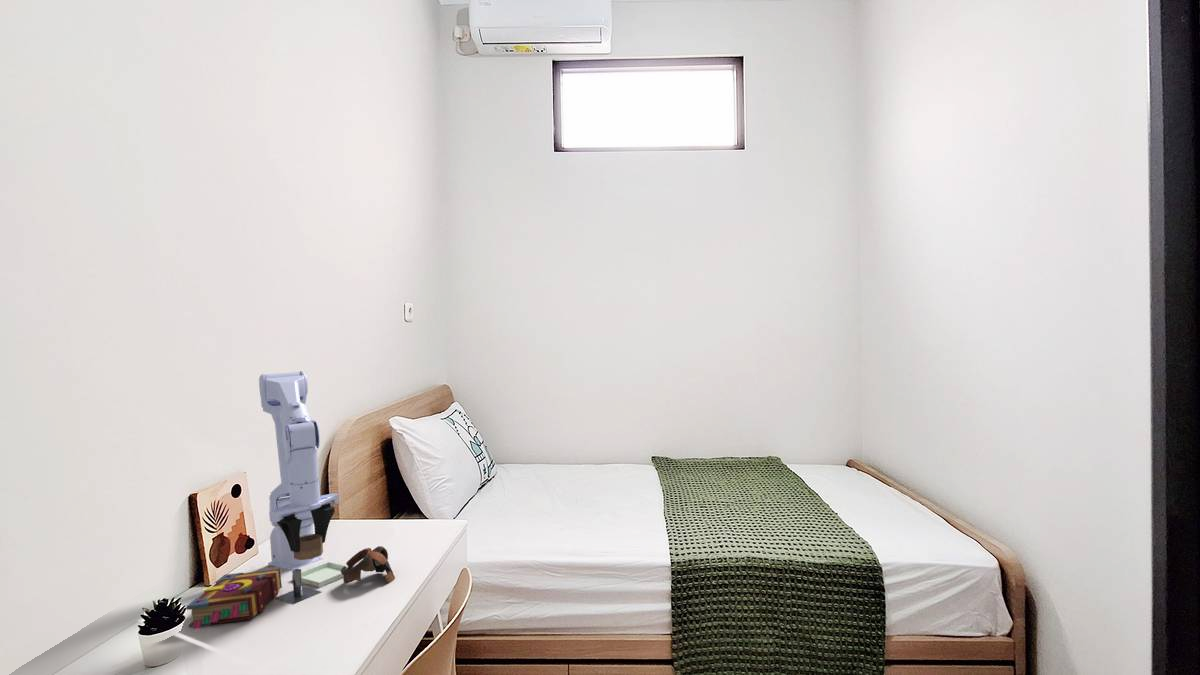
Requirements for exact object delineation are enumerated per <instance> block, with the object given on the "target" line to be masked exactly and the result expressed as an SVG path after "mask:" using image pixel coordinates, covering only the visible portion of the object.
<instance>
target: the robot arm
mask: <svg viewBox="0 0 1200 675" xmlns="http://www.w3.org/2000/svg"><path fill="white" fill-rule="evenodd" d="M258 383H259V384H258V388H259V389H258V390H259V397H260V404H261V408H262V411H263V412H265V413H267V414H270V415H271V417H272V421H273V424H274V428H275V438H276V439H275V440H276V448H277V457H278V465H279V474H280V484H278V485H277V487H275V488H274V489H273V490H272V491H271V492H270V494H269V497H268V498H269V511H268V515H269V521H270V523H271V526H273V528H272V530H271V532H270V536H269V538H270V539H269V541H270V543H269V544H270V554H271V556H270V557H271V561H269V562H267V565H268V566H271V567H278V568H282V569H285V570H290V571H293V570H295V569H301V568H302V567H305V566H308V565H310V564H313V563H315V562H318V561H321V560H323V558H324V557H323V556H318V557H316V558H313V559H306V560H298V559H294V552H299V551H300V536H303V535H309V534H319V535H322V541H323V544H324V543H325V542H326V537H327V532H328V528H329V525H330V522H331V520H332V517H333V516H334V514H335V506H332V505H336V504H339V503H340V498H339V496H340V495H339V493H334V492H332V493H329V494H324V495H321V488H320V476H319V474H320V473H319V459H318V458H319V457H318V449H319V447H320V443H321V438H320V437H321V436H320V435H321V434H320V429H319V425H318V422H317V420H314V419H312V417H311V414H310V411H309V408H308V406H307V405H306V403H307V395H308V392H309V391H308V390H309V389H308V387H309V386H308V376H307V373H305V371H303V370H299V371H293V372H292V371H291V372H280V373H269V374H268V373H267V374H265V373H261V375H259V378H258Z"/></svg>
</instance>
